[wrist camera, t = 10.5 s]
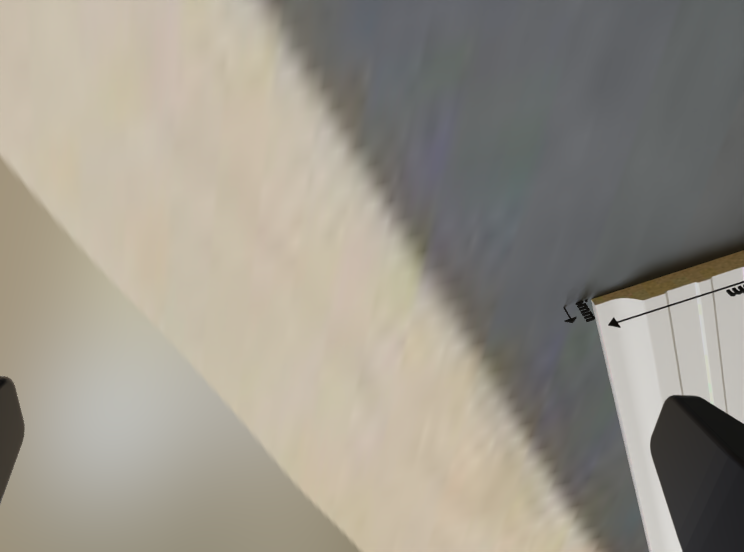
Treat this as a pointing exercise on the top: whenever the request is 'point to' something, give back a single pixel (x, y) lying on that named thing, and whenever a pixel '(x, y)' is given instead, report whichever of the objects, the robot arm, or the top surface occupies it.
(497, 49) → the top surface
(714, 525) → the robot arm
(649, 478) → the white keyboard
